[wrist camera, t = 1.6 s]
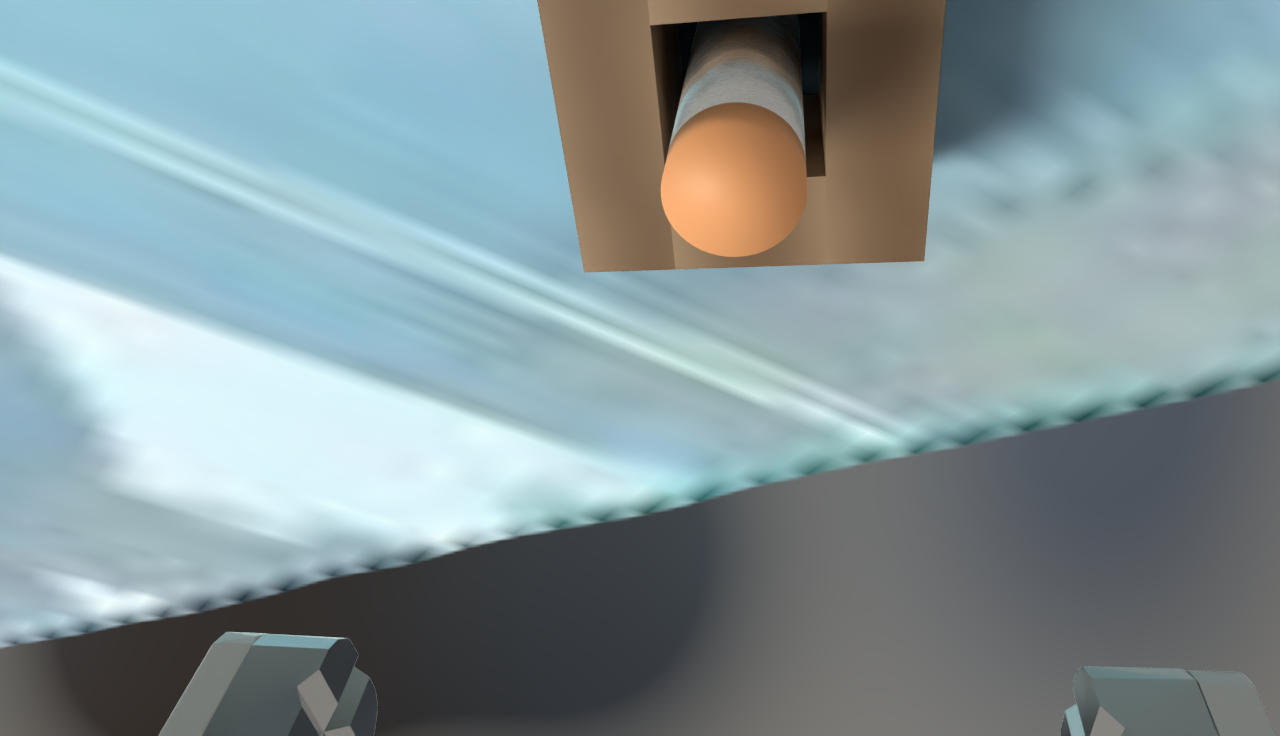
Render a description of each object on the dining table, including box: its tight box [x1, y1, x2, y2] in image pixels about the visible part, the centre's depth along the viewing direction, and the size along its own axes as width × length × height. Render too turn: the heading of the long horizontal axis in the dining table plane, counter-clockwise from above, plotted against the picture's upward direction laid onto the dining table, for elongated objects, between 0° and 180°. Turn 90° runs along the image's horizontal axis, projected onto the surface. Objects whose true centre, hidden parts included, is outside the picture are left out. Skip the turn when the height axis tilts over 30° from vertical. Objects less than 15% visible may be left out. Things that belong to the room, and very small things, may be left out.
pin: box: [661, 14, 807, 257], centre depth 25 cm, size 3×3×11 cm
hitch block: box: [537, 0, 946, 272], centre depth 27 cm, size 10×10×6 cm
